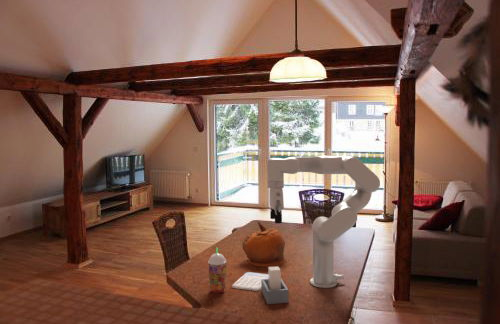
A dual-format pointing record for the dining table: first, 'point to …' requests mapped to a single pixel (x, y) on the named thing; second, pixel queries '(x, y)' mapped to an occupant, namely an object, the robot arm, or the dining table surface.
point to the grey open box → (275, 293)
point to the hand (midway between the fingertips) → (276, 220)
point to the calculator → (250, 281)
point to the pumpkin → (265, 247)
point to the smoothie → (217, 272)
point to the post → (274, 278)
